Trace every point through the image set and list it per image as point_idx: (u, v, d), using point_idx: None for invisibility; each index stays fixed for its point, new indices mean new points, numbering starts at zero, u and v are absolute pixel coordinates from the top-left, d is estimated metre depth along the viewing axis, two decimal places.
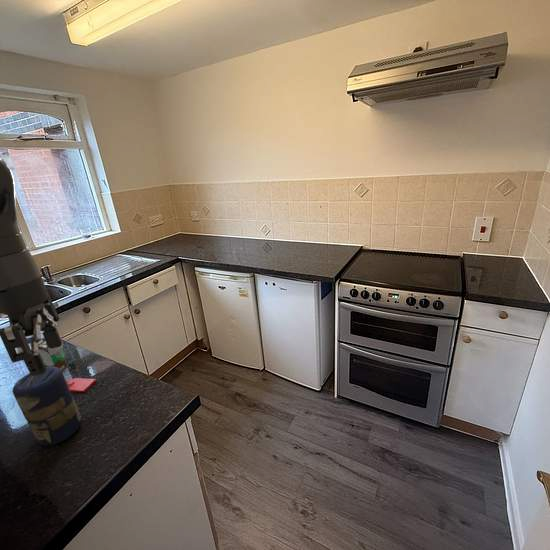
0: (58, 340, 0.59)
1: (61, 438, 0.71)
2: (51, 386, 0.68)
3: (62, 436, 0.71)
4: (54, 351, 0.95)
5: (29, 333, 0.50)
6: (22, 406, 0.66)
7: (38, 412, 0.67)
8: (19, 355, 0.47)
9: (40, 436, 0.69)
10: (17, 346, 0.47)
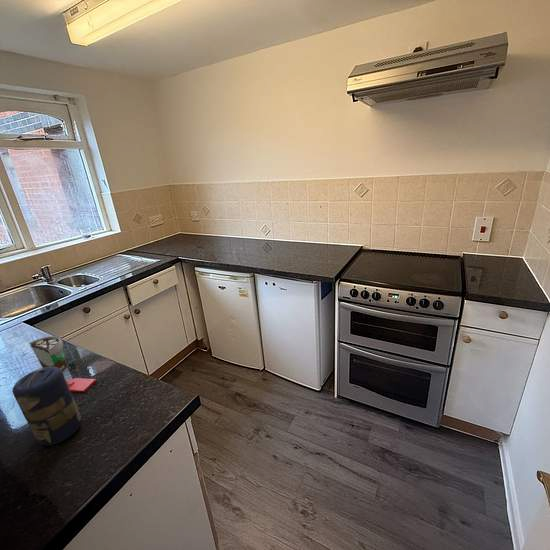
0: None
1: (61, 438, 0.71)
2: (51, 386, 0.68)
3: (62, 436, 0.71)
4: (54, 351, 0.95)
5: None
6: (22, 406, 0.66)
7: (38, 412, 0.67)
8: None
9: (40, 436, 0.69)
10: None
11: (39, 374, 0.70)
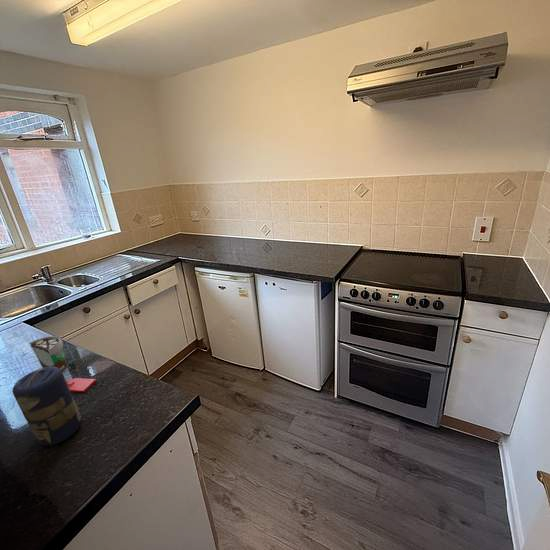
0: None
1: (61, 438, 0.71)
2: (51, 386, 0.68)
3: (62, 436, 0.71)
4: (54, 351, 0.95)
5: None
6: (22, 406, 0.66)
7: (38, 412, 0.67)
8: None
9: (40, 436, 0.69)
10: None
11: (39, 374, 0.70)
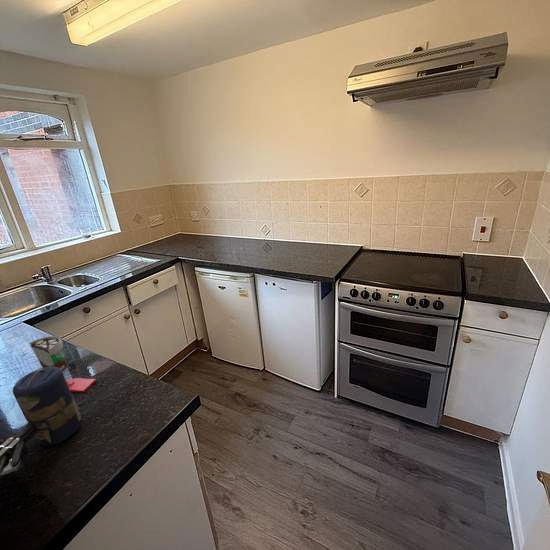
0: (26, 429, 0.67)
1: (61, 438, 0.71)
2: (52, 386, 0.68)
3: (62, 436, 0.71)
4: (54, 351, 0.95)
5: (7, 460, 0.60)
6: (22, 406, 0.66)
7: (39, 412, 0.67)
8: None
9: (40, 436, 0.69)
10: (22, 453, 0.61)
11: (39, 374, 0.70)
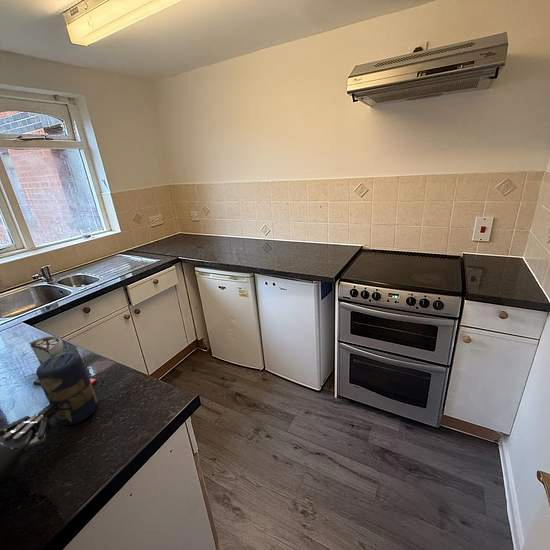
0: (49, 407, 0.72)
1: (81, 417, 0.76)
2: (73, 369, 0.73)
3: (82, 416, 0.76)
4: (54, 351, 0.95)
5: (33, 434, 0.65)
6: (46, 387, 0.71)
7: (61, 392, 0.72)
8: None
9: (61, 416, 0.74)
10: (47, 428, 0.67)
11: (60, 358, 0.75)
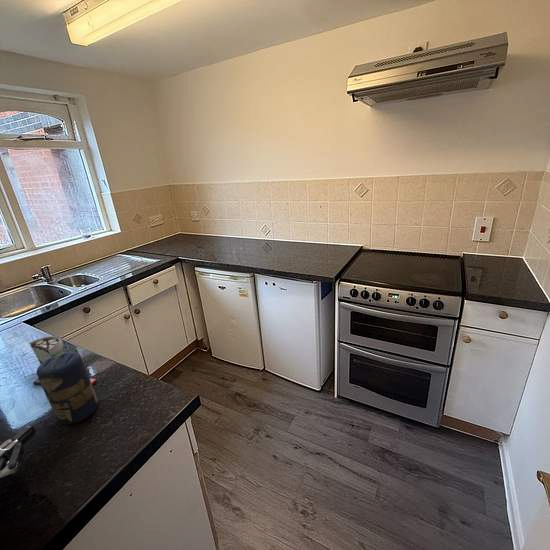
0: (24, 431, 0.66)
1: (81, 417, 0.76)
2: (73, 368, 0.73)
3: (82, 416, 0.76)
4: (54, 351, 0.95)
5: (4, 463, 0.59)
6: (46, 387, 0.71)
7: (61, 392, 0.72)
8: None
9: (61, 416, 0.75)
10: (20, 455, 0.61)
11: (60, 358, 0.75)
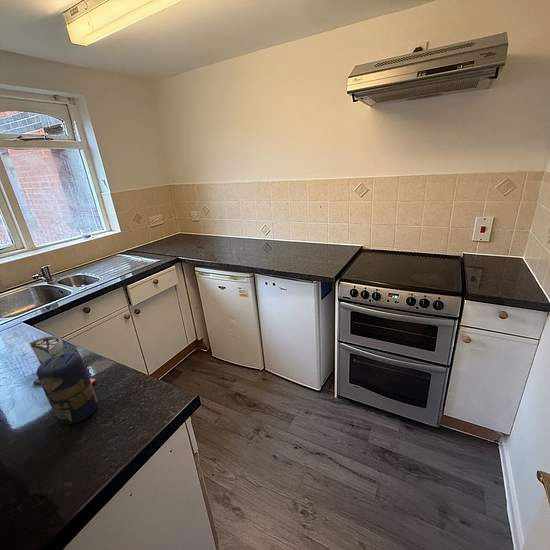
0: None
1: (81, 417, 0.76)
2: (73, 369, 0.73)
3: (82, 416, 0.76)
4: (54, 351, 0.95)
5: None
6: (46, 387, 0.71)
7: (61, 392, 0.72)
8: None
9: (61, 416, 0.75)
10: None
11: (60, 358, 0.75)
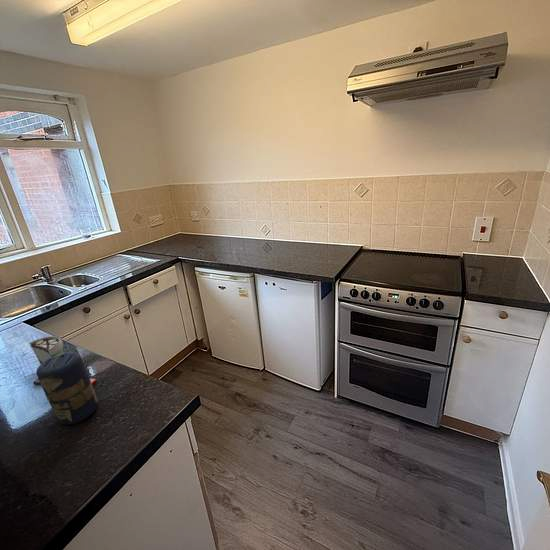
0: None
1: (81, 417, 0.76)
2: (73, 369, 0.73)
3: (82, 416, 0.76)
4: (54, 351, 0.95)
5: None
6: (46, 387, 0.71)
7: (61, 392, 0.72)
8: None
9: (61, 416, 0.75)
10: None
11: (60, 358, 0.75)
